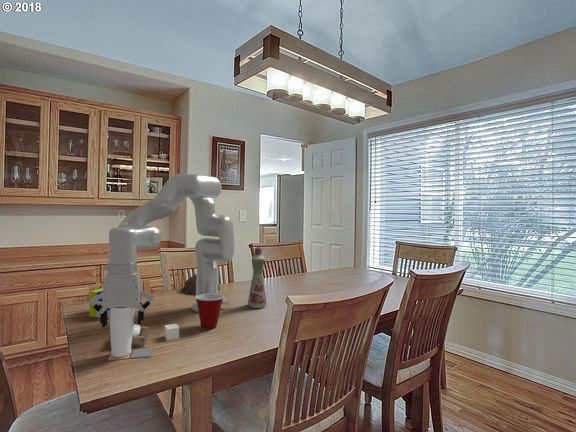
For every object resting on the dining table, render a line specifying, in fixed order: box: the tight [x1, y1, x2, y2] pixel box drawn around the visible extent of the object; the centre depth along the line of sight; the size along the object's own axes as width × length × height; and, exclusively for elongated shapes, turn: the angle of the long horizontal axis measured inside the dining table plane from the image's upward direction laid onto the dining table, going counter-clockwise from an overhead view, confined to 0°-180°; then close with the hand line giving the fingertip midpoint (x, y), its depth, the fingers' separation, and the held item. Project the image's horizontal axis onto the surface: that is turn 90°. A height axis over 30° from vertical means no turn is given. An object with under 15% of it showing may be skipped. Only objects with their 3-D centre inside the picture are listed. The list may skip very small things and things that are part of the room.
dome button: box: [132, 323, 141, 337], centre depth 107 cm, size 6×6×4 cm
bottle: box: [247, 246, 267, 309], centre depth 151 cm, size 9×9×28 cm
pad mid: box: [129, 347, 154, 360], centre depth 99 cm, size 6×6×1 cm
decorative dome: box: [182, 273, 221, 296], centre depth 174 cm, size 19×20×10 cm
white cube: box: [164, 323, 180, 342], centre depth 112 cm, size 4×4×4 cm
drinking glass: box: [109, 307, 136, 357], centre depth 97 cm, size 7×7×15 cm
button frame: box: [109, 325, 149, 350], centre depth 107 cm, size 10×10×3 cm
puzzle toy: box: [88, 287, 110, 320], centre depth 133 cm, size 10×10×10 cm
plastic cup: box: [195, 293, 225, 330], centre depth 123 cm, size 11×11×12 cm
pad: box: [107, 349, 133, 361], centre depth 97 cm, size 6×6×1 cm
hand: (122, 324), depth 98 cm, fingers open, 9 cm apart
